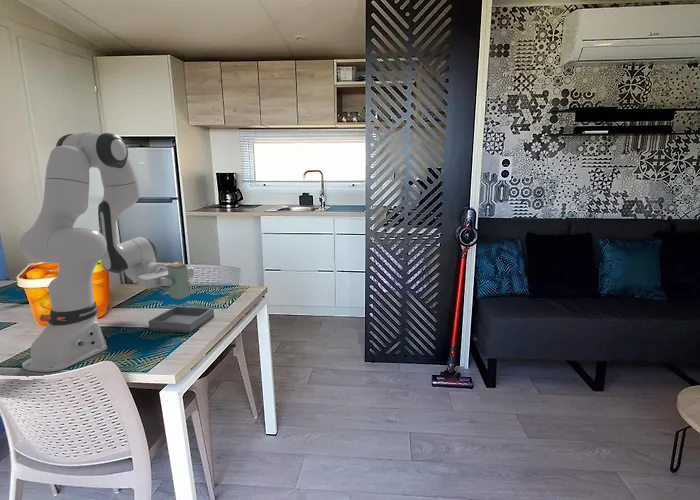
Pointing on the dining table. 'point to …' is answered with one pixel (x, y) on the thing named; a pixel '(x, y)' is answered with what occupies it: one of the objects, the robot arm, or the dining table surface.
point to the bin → (181, 319)
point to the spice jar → (179, 280)
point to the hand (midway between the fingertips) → (180, 279)
